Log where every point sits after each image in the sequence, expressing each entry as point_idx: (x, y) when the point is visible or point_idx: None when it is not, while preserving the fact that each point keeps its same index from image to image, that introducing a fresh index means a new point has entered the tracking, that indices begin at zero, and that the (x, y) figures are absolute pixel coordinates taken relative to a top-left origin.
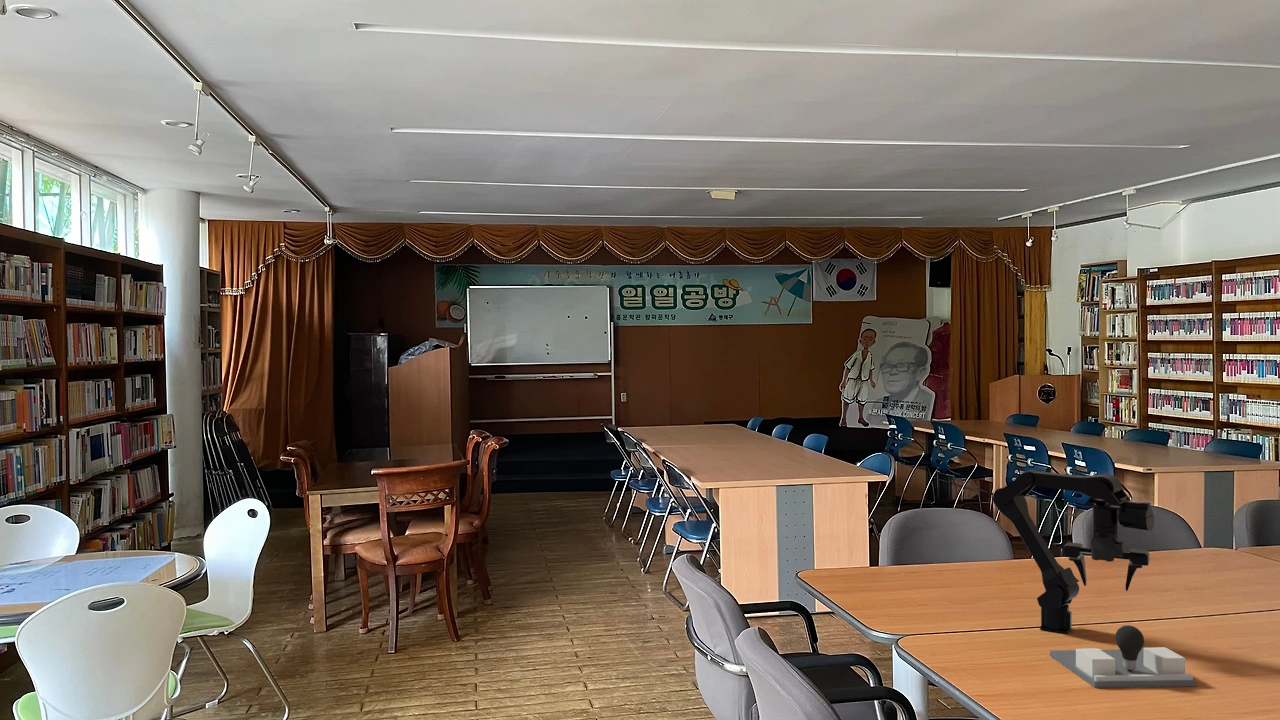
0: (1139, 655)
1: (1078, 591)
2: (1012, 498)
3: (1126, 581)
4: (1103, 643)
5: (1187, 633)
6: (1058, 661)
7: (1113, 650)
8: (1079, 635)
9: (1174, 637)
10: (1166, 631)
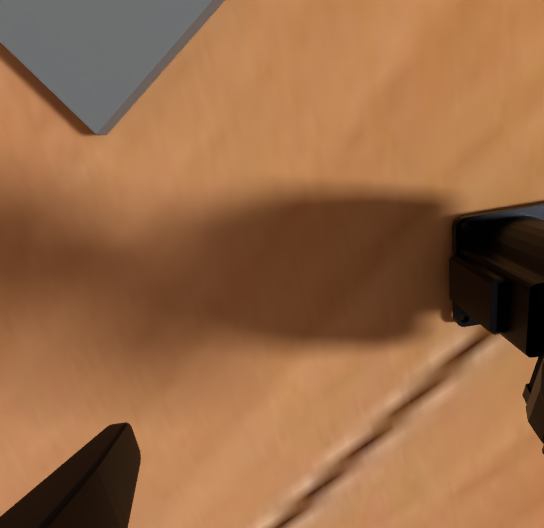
0: (61, 6)
1: (538, 432)
2: None
3: (49, 514)
4: (287, 190)
5: None
6: None
7: (191, 4)
8: (400, 239)
9: None
10: (147, 490)
